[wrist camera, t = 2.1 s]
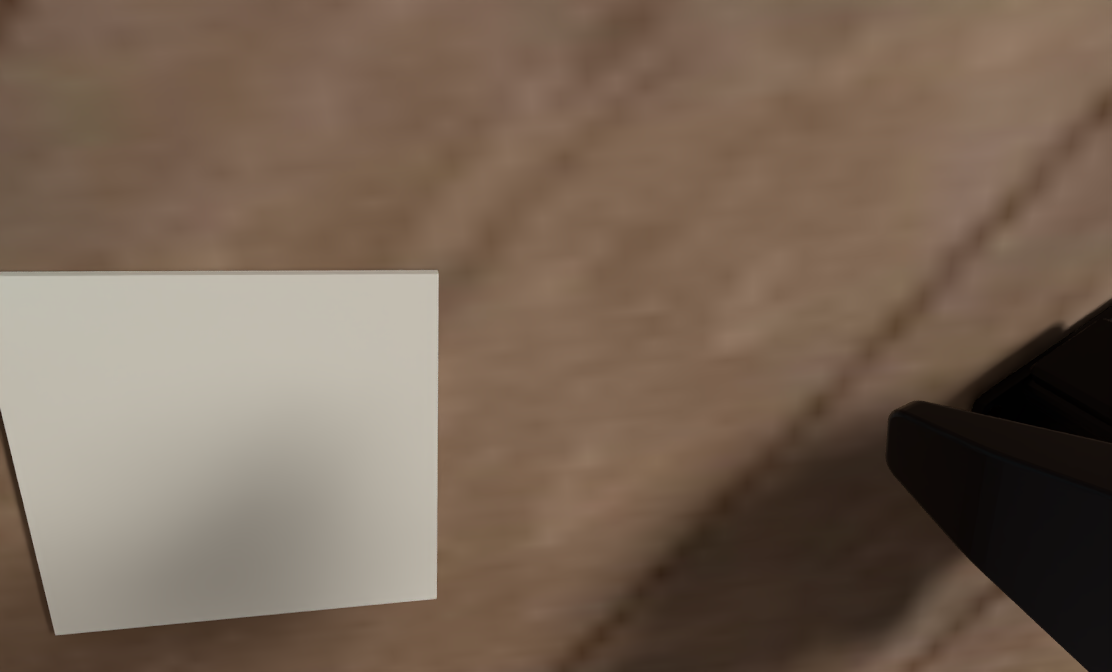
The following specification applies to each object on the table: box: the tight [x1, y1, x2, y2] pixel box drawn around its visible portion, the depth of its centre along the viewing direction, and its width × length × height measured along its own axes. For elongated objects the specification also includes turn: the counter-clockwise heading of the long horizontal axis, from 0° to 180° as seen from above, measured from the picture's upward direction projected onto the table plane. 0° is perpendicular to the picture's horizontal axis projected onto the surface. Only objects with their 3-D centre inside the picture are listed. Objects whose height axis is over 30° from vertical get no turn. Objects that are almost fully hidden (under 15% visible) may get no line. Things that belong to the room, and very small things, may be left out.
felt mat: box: [0, 270, 438, 635], centre depth 20 cm, size 10×10×1 cm
